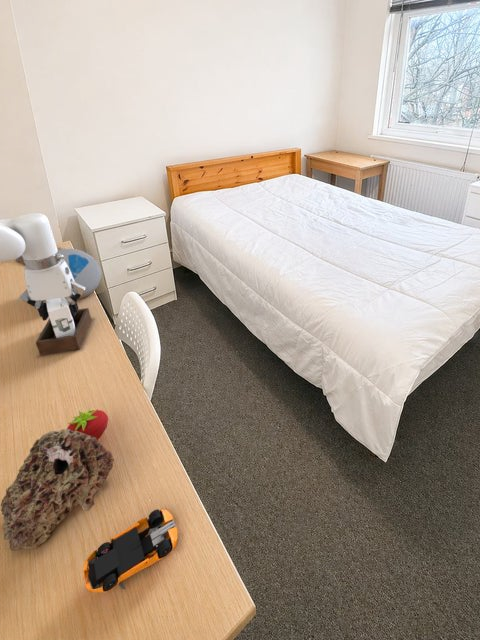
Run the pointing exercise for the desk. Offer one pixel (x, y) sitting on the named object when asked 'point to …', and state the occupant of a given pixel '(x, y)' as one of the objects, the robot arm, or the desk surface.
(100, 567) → the toy car
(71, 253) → the grey round disc
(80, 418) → the strawberry
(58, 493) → the coral
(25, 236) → the robot arm
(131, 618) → the desk surface
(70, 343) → the holder
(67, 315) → the ink box
